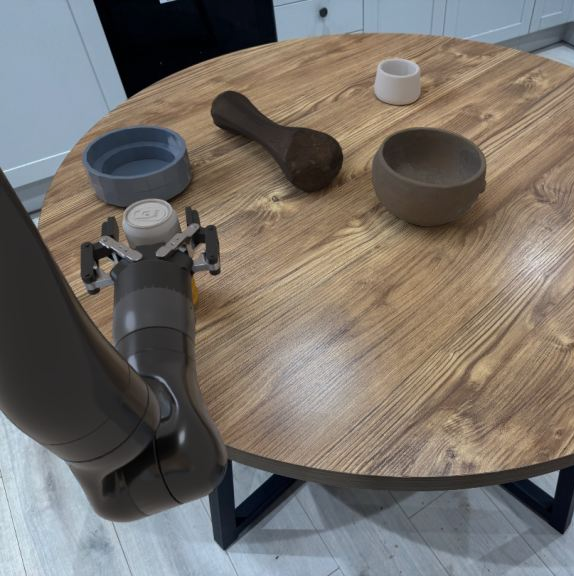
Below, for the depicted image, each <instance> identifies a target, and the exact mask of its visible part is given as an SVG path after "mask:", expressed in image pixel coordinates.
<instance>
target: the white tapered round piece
mask: <svg viewBox="0 0 574 576" xmlns="http://www.w3.org/2000/svg"><path fill="white" fill-rule="evenodd" d="M373 89H374V90H373V91H374V95H375V96H376V98H377V99H378V100H380V101H381V102H383V103H385V104H389V105H395V106H402V105H403V106H405V105H409V104H413V103H414V102H416V101H417V100H418V99H419V98H420V96H421V91H422V90H421V89H422V87H421V68H420V66H419V65H418V63H416V62H414V61H413V60H409V59H406V58H389V59H385V60H383V61H381V62H379V63H378V65H377V69H376V75H375V81H374V88H373Z"/></svg>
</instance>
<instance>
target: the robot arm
mask: <svg viewBox="0 0 574 576" xmlns="http://www.w3.org/2000/svg"><path fill="white" fill-rule="evenodd" d="M184 212H185V222H186V223H185V224H186V228H185V229H184V230H182V233H177V234H176V235H175V236H174V237H173V238H172V239H171V240H170V241H169V242H168V243H167V244H166V242H161V243H156V244H153V245H140V246H136V248H135V249H131V248H130V247H129V245H127V244H125V243H124V242H122V241H121V240H120V228H119V224H118V221H117V219H116V216H115V215H112V216H107V221H103V222H102V224H101V230H100V231H101V233H100V237H99V239H98V241H96V242H94V243H93V242H91V241H85V242H83V243H82V244H80V278H81V281H82V283H83V285H84V288H85V289H86V291H87V294H88V295H90V296H95V295H97V294H99V293H100V292H101V288H105V287H109V286H113V301H112V302H113V304H112V331H111V333H112V342H113V344H112V343H111V342H110V341H109V340H108V339H107V337H106V336H105V335H104V334H103V332H102V331H101V330H100V329H99V328H98V326H97V324H96V323H95V322H94V321H93V319H92V318H91V317H90V315H89V314H88V312H87V310H86V309H85V307H84V306H83V305H82V303H81V302H80V300H79V298H78V297H77V295H76V293H75V292H74V290H73V288H72V287H71V285H70V284H69V281H68V279H67V278H66V276H65V274H64V273H63V270H62V269H61V267H60V266H59V264H58V262H57V260H56V258H55V257H54V255H53V253H52V252H51V251H52V250H51V249H50V248H49V246H48V244H47V243H46V241H45V239H44V238H43V236H42V234H41V232H40V231H39V229H38V227H37V225H36V223H35V222H34V220H33V219H32V217H31V216H30V214H29V212H28V210H27V209H26V207H25V206H24V203H23V202H22V200H21V199H20V197H19V196H18V194H17V193H16V190H15V189H14V187H13V185H12V184H11V182H10V180H9V179H8V177H7V176H6V174H5V172H4V171H3V169H2V167H1V166H0V412H1V413H2V414H3V415H4V416H5V418H6V419H7V420H8V421H9V422H10V423H11V424H12V425H13V426H14V427H16V428H17V429H18V430H19V431H20V432H21V433H23V434H24V435H26V436H27V437H28V438H30V439H32V440H33V441H34V442H35V443H38V444H39V445H40V446H42V447H43V448H44V449H46V450H48V451H49V452H50V453H52V454H53V455H55V456H56V457H57V458H59V459H60V460H62V461H64V462H65V464H66V465H67V467H68V469H69V470H70V472H71V473H72V475H73V476H74V478H75V480H76V481H77V483H78V484H79V486H80V487H81V490H82V491H83V493H84V495H85V497H86V500H87V501H88V503H89V505H90V507H91V509H92V510H93V512H94V513H95V514H96V515H97V516H98V517H99V518H101V519H103V520H104V521H105V520H106V521H108V522H112V523H122V524H125V523H132V522H136V521H137V522H138V521H139V520H143V519H145V518H148V517H151V516H154V515H157V514H160V513H163V512H166V511H169V510H171V509H174V508H176V507H179V506H182V505H184V504H189V503H192V502H194V501H196V500H200V499H203V498H205V497H207V496H209V495H211V494H213V492H215V491H216V490H217V489H218V487H219V486H220V485H221V483H222V481H224V478H225V475H226V473H227V468H228V459H229V458H228V451H227V446H226V444H225V441H224V439H223V436H222V434H221V432H220V429H219V428H218V426H217V425H216V422H215V421H214V419H213V417H212V415H211V413H210V411H209V408H208V406H207V404H206V401H205V399H204V396H203V394H202V390H201V387H200V386H201V385H200V382H199V379H198V370H197V360H196V359H197V358H196V349H195V347H196V346H195V343H196V334H197V333H196V332H197V331H196V330H197V329H196V328H197V327H196V324H197V317H196V314H195V305H194V304H193V293H192V282H191V279H192V277H193V276H194V275H195V273H197V272H207V271H208V272H209V275H210V276H214V277H215V276H219V275H220V274H221V271H222V270H221V269H222V268H221V249H220V248H221V247H220V241H219V235H218V231H217V226H216V225H214V224H208V225H206V226H205V227H203V226H201V219H200V214H199V211H198V210H197V209H193V208H192V206H191V205H190V206H185V207H184ZM204 244H205V248H204V249H202V250H201V253H200V254H199V255H198V258H196V259H193V258H194V256H195V253H196V251H197V250H198V249H199V248H200V247H201V246H202V245H204ZM102 259H106V260H108V261H109V262H111V263H112V264H114V266H113V267H112V268H111V269H110V271H109V272H108V273H107V272H105V271H104V269H103V268H100V260H102Z"/></svg>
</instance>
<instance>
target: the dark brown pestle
mask: <svg viewBox="0 0 574 576" xmlns="http://www.w3.org/2000/svg"><path fill="white" fill-rule="evenodd" d="M209 111H210V117H211V118H212V122H213V124H214V126H216V127H217V128H219V129H221V130H222V131H226V132H229V133H233V134H237V135H241V136H243V137H246V138H248V139H251V140H252V141H254V142H256V143H258V144H259V145H261V146H262V147H263V149H265V150H266V151H267V152H268V153H269V154H270V156H272V158H273V159H274V161H275V162H276V164H277V165H278V166H279V168H280V170H281V172H282V173H283V175H284V176H285V178H286V179H287V181H288V182H289V183H290V184H291V185H292V186H293V187H294V188H296V189H297V190H299V191H302V192H306V193H307V192H313V191H317V190H319V189H322V188H324V187H326V186H328V185H329V184H330V183H331V182H333V181H334V180H335V179H336V178H337V177H338V176H339V174H340V172H341V170H342V167H343V163H344V152H343V148H342V146H341V144H340V142H339V141H338V140H337V139H336V138H335V137H333V136H332V135H331V134H329V133H326V132H324V131H320V130H316V129H313V128H309V127H302V126H287V125H283V124H279V123H277V122H275V121H273V120H272V119H270V118H269V117H268V116H266V115H265V114H264V113H262V112H261V111H260V110H259V109H258V108H257V107H256V106H255V105H254V104H253V102H252V101H251V100H250V99H249V98H248V97H247V96H246V95H245V94H242V93H241V92H237V91H235V90H233V89H232V90H224V91H222V92H220V93H219V94H218V95H217V96H216V97H215V98H214V99H213V100H212V102H211V107H210V110H209Z"/></svg>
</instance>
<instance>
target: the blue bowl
mask: <svg viewBox="0 0 574 576" xmlns="http://www.w3.org/2000/svg"><path fill="white" fill-rule="evenodd" d="M81 164H82V166H83V168H84V169H83V170H84V172H85V174H86V177H87V179H88V182H89V185H90V188H91V190H92V192H93V193H94V194H95V195H96V197H97V198H98V199H100V200H101V201H103V202H105V203H106V204H109V205H113V206H117V207H122V208H123V207H124V208H128V207H129V206H130V205H132V204H133V203H136V202H138V201H141V200H145V199H160V200H164V201H168V200H171V199H172V198H174V197H176V196H178V195H179V194H181V193H182V192H183V191H184V190H185V189H186V188H187V187H188V186H189V185H190V183H191V181H192V177H193V170H192V167H191V162H190V157H189V152H188V148H187V143H186V140H185V138H183V136H182V135H181V134H179V132H177V131H175V130H173V129H170V128H168V127H165V126H164V127H163V126H159V125H148V124H147V125H146V124H145V125H143V124H140V125H131V126H124V127H120V128H116V129H112V130H110V131H108V132H105V133H103V134H101V135H98V136H97V137H95V138H94V139H93V140H92V141H91V142H89V143H88V144H87V145H86V146H85V148H84V150H83V151H82V153H81Z"/></svg>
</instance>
